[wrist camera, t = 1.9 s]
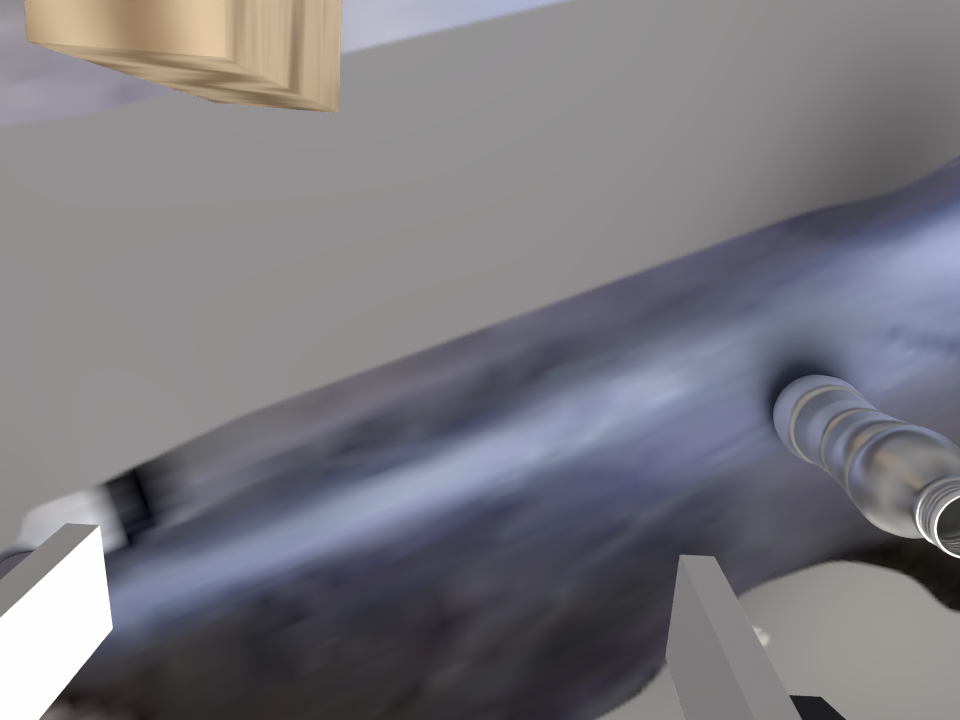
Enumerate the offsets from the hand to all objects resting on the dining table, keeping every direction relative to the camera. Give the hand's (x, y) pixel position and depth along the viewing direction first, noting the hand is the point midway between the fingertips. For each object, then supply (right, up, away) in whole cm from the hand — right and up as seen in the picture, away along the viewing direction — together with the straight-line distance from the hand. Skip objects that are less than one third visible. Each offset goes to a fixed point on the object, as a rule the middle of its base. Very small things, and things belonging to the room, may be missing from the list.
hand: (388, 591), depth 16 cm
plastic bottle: (+28, +1, +39) cm, 47 cm away
